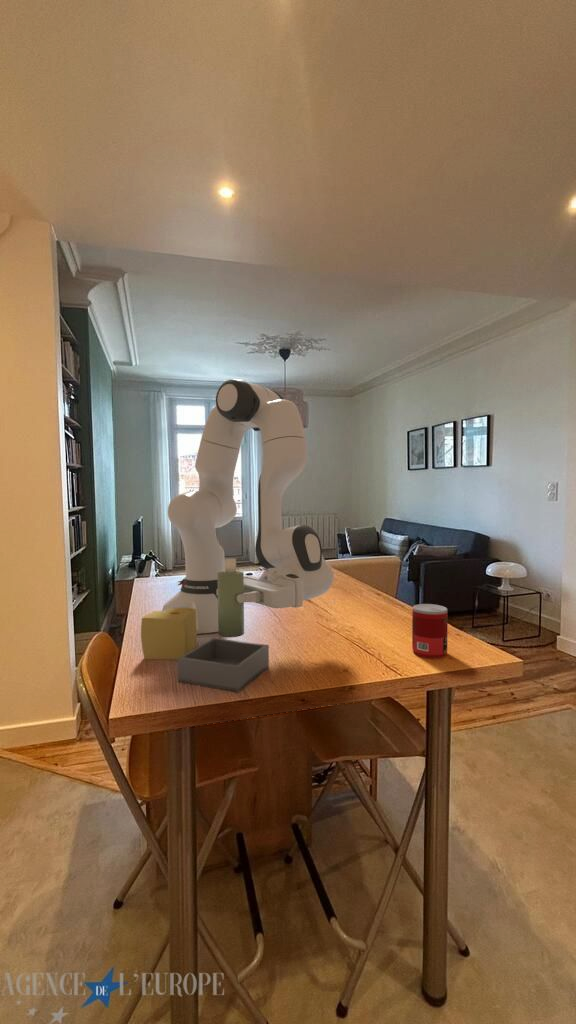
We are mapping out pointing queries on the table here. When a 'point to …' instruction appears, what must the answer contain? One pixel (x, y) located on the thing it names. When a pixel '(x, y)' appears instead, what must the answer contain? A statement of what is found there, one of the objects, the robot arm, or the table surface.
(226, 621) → the green bottle
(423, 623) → the canned food
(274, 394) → the robot arm
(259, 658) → the box
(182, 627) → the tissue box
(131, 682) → the table surface
